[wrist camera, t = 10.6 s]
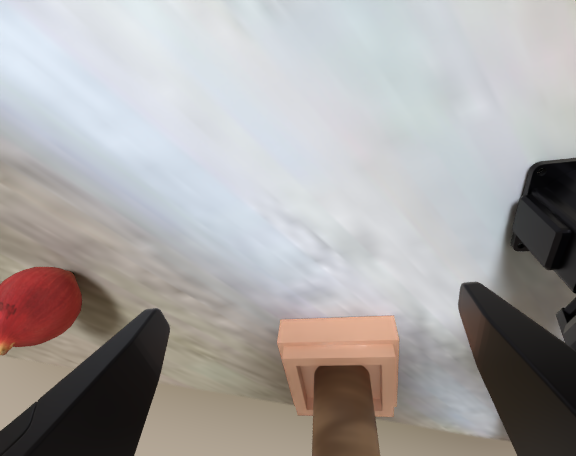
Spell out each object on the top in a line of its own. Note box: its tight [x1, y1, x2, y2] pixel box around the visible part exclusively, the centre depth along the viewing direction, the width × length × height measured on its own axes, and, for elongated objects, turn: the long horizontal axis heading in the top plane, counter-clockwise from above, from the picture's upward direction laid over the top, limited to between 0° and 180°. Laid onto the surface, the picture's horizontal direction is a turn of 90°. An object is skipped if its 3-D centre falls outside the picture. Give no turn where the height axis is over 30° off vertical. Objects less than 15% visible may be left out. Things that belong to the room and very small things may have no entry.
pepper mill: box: [312, 365, 380, 456], centre depth 24 cm, size 5×5×12 cm
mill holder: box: [277, 316, 399, 417], centre depth 30 cm, size 10×10×4 cm
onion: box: [0, 267, 82, 355], centre depth 26 cm, size 6×6×8 cm
